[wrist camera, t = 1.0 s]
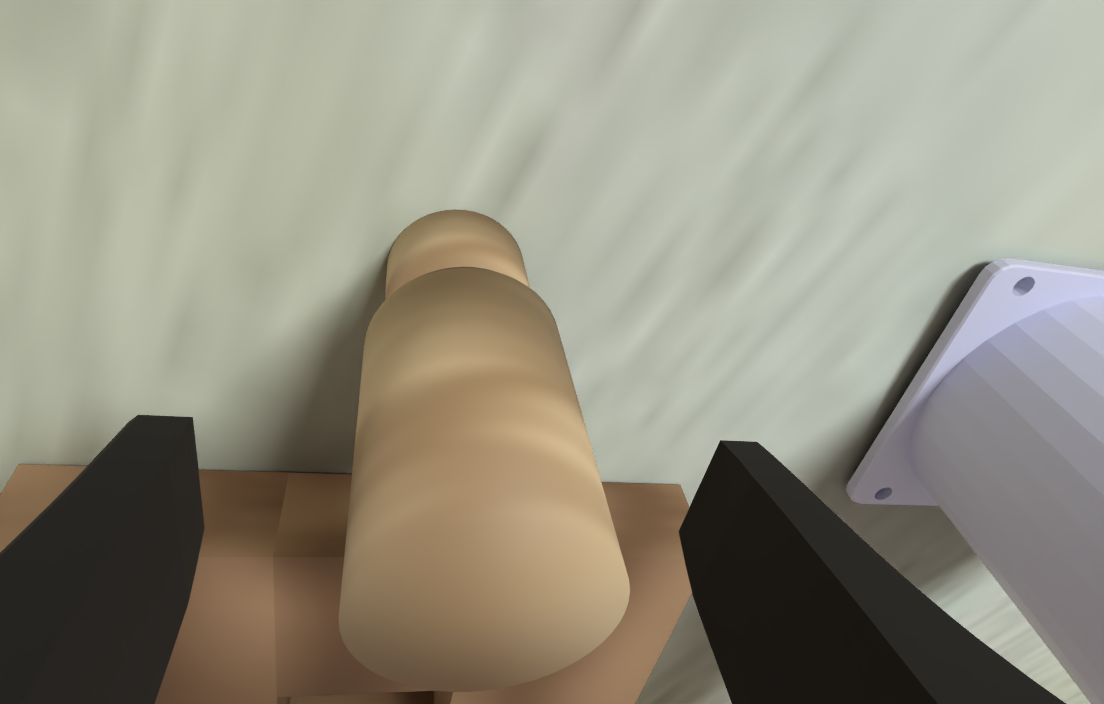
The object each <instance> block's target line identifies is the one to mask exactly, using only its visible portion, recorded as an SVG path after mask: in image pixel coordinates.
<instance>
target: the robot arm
mask: <svg viewBox="0 0 1104 704" xmlns="http://www.w3.org/2000/svg"><path fill="white" fill-rule="evenodd" d="M1019 280H1020V281H1019ZM1018 281H1019V282H1018ZM1017 282H1018V283H1017ZM1016 283H1017V284H1016ZM846 491H847V494H848V495H849V497H850V498H851V500H852V501H853V502H854V503H858V504H881V505H920V506H940V508H941V509H942V510H943V512H944V513H945V514H946V516H947V517H948V518H949V519H950V521H951V522H952V523H953V525H954V526H955V527H956V529H957V530H958V531H959V532H960V534H961V535H962V536H963V538H964V539H965V540H966V542H967V543H968V544H969V545H970V547H971V548H972V549H973V551H974V552H975V553H976V555H977V556H978V557H979V558H980V560H981V561H982V562H983V564H984V565H985V566H986V568H987V569H988V570H989V571H990V573H991V574H992V575H993V577H994V578H995V579H996V581H997V582H998V583H999V585H1000V586H1001V587H1002V588H1003V590H1004V591H1005V592H1006V594H1007V595H1008V596H1009V598H1010V599H1011V600H1012V601H1013V603H1014V604H1015V605H1016V607H1017V608H1018V609H1019V611H1020V612H1021V613H1022V614H1023V616H1024V617H1025V618H1026V620H1027V621H1028V622H1029V624H1030V625H1031V626H1032V627H1033V629H1034V630H1035V631H1036V633H1037V634H1038V635H1039V637H1040V638H1041V639H1042V640H1043V642H1044V643H1045V644H1046V646H1047V647H1048V648H1049V650H1050V651H1051V652H1052V654H1053V655H1054V656H1055V657H1056V659H1057V660H1058V661H1059V663H1060V664H1061V665H1062V667H1063V668H1064V669H1065V670H1066V672H1067V673H1068V674H1069V676H1070V677H1071V678H1072V680H1073V681H1074V682H1075V683H1076V685H1077V686H1078V687H1079V689H1080V690H1081V691H1082V693H1083V694H1084V695H1085V696H1086V698H1087V699H1088V700H1089V702H1090V703H1091V704H1104V271H1102V270H1095V269H1087V268H1080V267H1072V266H1064V265H1057V264H1049V263H1042V262H1034V261H1026V260H1019V259H1011V258H1003V259H999V260H996V261H994V262H991V263H990V264H989V265H987V266H986V267H985V268H984V269H983V270H982V271H981V272H980V274H979V275H978V277H977V278H976V280H975V281H974V283H973V285H972V286H971V288H970V289H969V291H968V293H967V294H966V296H965V297H964V299H963V301H962V302H961V304H960V305H959V307H958V309H957V310H956V312H955V313H954V315H953V317H952V318H951V320H950V321H949V323H948V324H947V326H946V328H945V329H944V331H943V332H942V334H941V336H940V337H939V339H938V340H937V342H936V344H935V345H934V347H933V348H932V350H931V352H930V353H929V355H928V356H927V358H926V360H925V361H924V363H923V364H922V366H921V368H920V369H919V371H918V372H917V374H916V376H915V377H914V379H913V380H912V382H911V383H910V385H909V387H908V388H907V390H906V391H905V393H904V395H903V396H902V398H901V399H900V401H899V403H898V404H897V406H896V407H895V409H894V411H893V412H892V414H891V415H890V417H889V419H888V420H887V422H886V423H885V425H884V427H883V428H882V430H881V431H880V433H879V434H878V436H877V438H876V439H875V441H874V442H873V444H872V446H871V447H870V449H869V450H868V452H867V454H866V455H865V457H864V458H863V460H862V462H861V463H860V465H859V466H858V468H857V470H856V471H855V473H854V474H853V476H852V478H851V479H850V481H849V482H848V484H847V487H846ZM204 528H205V526H204V517H203V507H202V498H201V489H200V480H199V471H198V461H197V452H196V443H195V434H194V425H193V417H174V416H151V415H138V416H136V417H135V418H133V419H132V420H131V421H129V422H128V423H127V424H126V425H125V427H124V428H123V429H122V430H121V431H120V432H119V433H118V434H117V435H116V436H115V437H114V438H113V439H112V440H111V442H110V443H109V444H108V445H107V446H106V447H105V448H104V449H103V450H102V451H101V452H100V453H99V454H98V455H97V456H96V458H95V459H94V460H93V461H92V462H91V463H90V464H89V465H88V466H87V467H86V468H85V469H84V470H83V471H82V472H81V473H80V474H79V475H78V476H77V477H76V478H75V479H74V480H73V481H72V482H71V483H70V484H69V485H68V487H67V488H66V489H65V490H64V491H63V492H62V493H61V494H60V495H59V496H58V497H57V498H56V499H55V500H54V501H53V502H52V503H51V504H50V505H49V506H48V507H47V508H46V509H45V510H44V511H43V512H42V513H40V514H39V515H38V516H37V517H36V518H35V519H34V520H33V521H32V522H31V523H30V524H29V525H28V526H27V527H26V528H25V529H24V530H23V531H22V532H21V533H20V534H19V535H18V536H17V537H16V538H15V539H14V540H13V541H12V542H11V543H10V544H9V545H7V546H6V547H5V548H4V549H3V550H2V551H1V552H0V704H155V701H156V698H157V695H158V692H159V689H160V686H161V683H162V680H163V677H164V675H165V672H166V669H167V666H168V663H169V660H170V657H171V654H172V651H173V648H174V645H175V642H176V639H177V636H178V633H179V630H180V627H181V624H182V621H183V618H184V615H185V612H186V609H187V606H188V603H189V599H190V594H191V590H192V585H193V581H194V576H195V572H196V567H197V562H198V557H199V553H200V548H201V543H202V538H203V533H204ZM679 536H680V541H681V546H682V551H683V555H684V560H685V565H686V569H687V573H688V578H689V582H690V586H691V590H692V594H693V597H694V600H695V603H696V606H697V609H698V612H699V615H700V617H701V620H702V623H703V626H704V628H705V631H706V634H707V637H708V639H709V642H710V645H711V648H712V650H713V653H714V656H715V659H716V661H717V664H718V667H719V669H720V672H721V675H722V677H723V680H724V683H725V685H726V688H727V691H728V694H729V696H730V699H731V702H732V704H1066V703H1064V702H1063V701H1061V700H1060V699H1059V698H1057V697H1056V696H1054V695H1053V694H1052V693H1050V692H1049V691H1047V690H1046V689H1044V688H1043V687H1042V686H1040V685H1039V684H1037V683H1036V682H1035V681H1033V680H1032V679H1031V678H1029V677H1028V676H1027V675H1025V674H1024V673H1023V672H1021V671H1020V670H1019V669H1017V668H1016V667H1015V666H1013V665H1012V664H1011V663H1009V662H1008V661H1007V660H1005V659H1004V658H1003V657H1001V656H1000V655H999V654H997V653H996V652H995V651H993V650H992V649H991V648H990V647H988V646H987V645H986V644H984V643H983V642H982V641H980V640H979V639H978V638H976V637H975V636H974V635H973V634H971V633H970V632H969V631H968V630H966V629H965V628H964V627H963V626H961V625H960V624H959V623H958V622H956V621H955V620H954V619H953V618H952V617H950V616H949V615H948V614H947V613H946V612H944V611H943V610H942V609H941V608H940V607H939V606H937V605H936V604H935V603H934V602H933V601H931V600H930V599H929V598H928V597H927V596H926V595H924V594H923V593H922V592H921V591H920V590H918V589H917V588H916V587H915V586H914V585H913V584H911V583H910V582H909V581H908V580H907V579H906V578H905V577H903V576H902V575H901V574H900V573H899V572H898V571H897V570H896V569H894V568H893V567H892V566H891V565H890V564H889V563H888V562H887V561H885V560H884V559H883V558H882V557H881V556H880V555H879V554H878V553H877V552H876V551H874V550H873V549H872V548H871V547H870V546H869V545H868V544H867V543H866V542H865V541H864V540H862V539H861V538H860V537H859V536H858V535H857V534H856V533H855V532H854V531H853V530H852V529H851V528H850V527H849V526H847V525H846V524H845V523H844V522H843V521H842V520H841V519H840V518H839V517H838V516H837V515H836V514H835V513H834V512H833V511H832V510H830V509H829V508H828V507H827V506H826V505H825V504H824V503H823V502H822V501H821V500H820V499H819V498H818V497H817V496H816V495H815V494H814V493H813V492H811V491H810V490H809V489H808V488H807V487H806V486H805V485H804V484H803V483H802V482H801V481H800V480H799V479H798V478H797V477H796V476H795V475H793V474H792V473H791V472H790V471H789V470H788V469H787V468H786V467H785V466H784V465H783V464H782V463H781V462H779V461H778V460H777V459H776V458H775V457H774V456H773V455H772V454H771V453H769V452H768V451H767V450H766V449H765V448H764V447H762V446H761V445H760V444H759V443H758V442H745V441H722V440H720V442H719V445H718V447H717V449H716V451H715V453H714V455H713V458H712V460H711V462H710V464H709V466H708V469H707V471H706V473H705V475H704V477H703V479H702V482H701V484H700V486H699V488H698V490H697V492H696V495H695V497H694V499H693V501H692V503H691V505H690V508H689V510H688V512H687V514H686V516H685V518H684V521H683V523H682V525H681V527H680V529H679Z"/></svg>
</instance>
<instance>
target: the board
mask: <svg viewBox="0 0 1104 704" xmlns="http://www.w3.org/2000/svg"><path fill="white" fill-rule="evenodd" d="M86 467H87V466H61V465H28V464H19V465H18V467H17V468H16V470H15V472H14V473H13V475H12V476H11V478H10V480H9V481H8V483H7V485H6V486H5V488H4V489H3V491H2V493H1V494H0V552H1V551H2V550H3V549H4V548H5V547H6V546H7V545H9V544H10V543H11V542H12V541H13V540H14V539H15V538H16V537H17V536H18V535H19V534H20V533H21V532H22V531H23V530H24V529H25V528H26V527H27V526H28V525H29V524H30V523H31V522H32V521H33V520H34V519H35V518H36V517H37V516H38V515H39V514H40V513H42V512H43V511H44V510H45V509H46V508H47V507H48V506H49V505H50V504H51V503H52V502H53V501H54V500H55V499H56V498H57V497H58V496H59V495H60V494H61V493H62V492H63V491H64V490H65V489H66V488H67V487H68V485H69V484H70V483H71V482H72V481H73V480H74V479H75V478H76V477H77V476H78V475H79V474H80V473H81V472H82V471H83V470H84V469H85V468H86ZM198 471H199V480H200V489H201V498H202V507H203V517H204V526H205V528H204V533H203V538H202V543H201V548H200V553H199V557H198V562H197V567H196V572H195V576H194V581H193V585H192V590H191V594H190V599H189V603H188V606H187V609H186V612H185V615H184V618H183V621H182V624H181V627H180V630H179V633H178V636H177V639H176V642H175V645H174V648H173V651H172V654H171V657H170V660H169V663H168V666H167V669H166V672H165V675H164V677H163V680H162V683H161V686H160V689H159V692H158V695H157V698H156V701H155V704H635V703H636V701H637V699H638V697H639V695H640V693H641V691H642V689H643V688H644V686H645V684H646V682H647V680H648V678H649V676H650V674H651V672H652V670H653V668H654V666H655V664H656V662H657V660H658V658H659V656H660V654H661V653H662V651H663V649H664V647H665V645H666V643H667V641H668V639H669V637H670V635H671V633H672V631H673V629H674V627H675V625H676V623H677V621H678V619H679V618H680V616H681V614H682V612H683V610H684V608H685V606H686V604H687V602H688V600H689V598H690V596H691V594H692V590H691V586H690V582H689V578H688V573H687V569H686V565H685V560H684V555H683V551H682V546H681V541H680V536H679V529H680V527H681V525H682V523H683V521H684V518H685V516H686V514H687V512H688V510H689V505H688V503H687V500H686V498H685V495H684V493H683V490H682V488H681V485H678V484H646V483H613V482H601V483H602V486H603V490H604V493H605V497H606V500H607V504H608V507H609V511H610V514H611V518H612V521H613V525H614V528H615V532H616V535H617V539H618V542H619V546H620V550H621V553H622V557H623V560H624V564H625V567H626V571H627V574H628V578H629V584H630V595H629V602H628V605H627V608H626V611H625V613H624V615H623V617H622V619H621V621H620V623H619V624H618V625H617V627H616V628H615V629H614V631H613V632H612V633H611V634H610V635H609V636H608V637H607V639H606V640H605V641H604V642H603V643H601V644H600V645H599V646H598V647H597V648H595V649H594V650H593V651H592V652H590V653H589V654H587V655H586V656H584V657H583V658H581V659H580V660H578V661H576V662H575V663H573V664H571V665H569V666H567V667H566V668H563V669H561V670H559V671H557V672H555V673H552V674H550V675H547V676H544V677H542V678H539V679H536V680H533V681H529V682H526V683H523V684H519V685H514V686H510V687H505V688H499V689H492V690H485V691H472V692H446V691H433V690H426V689H419V688H415V687H411V686H406V685H403V684H400V683H397V682H394V681H391V680H388V679H386V678H384V677H382V676H380V675H377V674H376V673H374V672H372V671H371V670H369V669H368V668H366V667H365V666H364V665H362V664H361V663H360V662H359V661H358V660H356V659H355V657H354V656H353V655H352V654H351V653H350V652H349V650H348V649H347V647H346V645H345V644H344V642H343V640H342V637H341V633H340V630H339V607H340V596H341V586H342V575H343V564H344V554H345V543H346V533H347V522H348V511H349V501H350V490H351V479H352V474H321V473H288V472H256V471H223V470H198ZM411 691H415V692H411ZM387 692H392V693H387ZM364 693H368V694H364ZM340 694H344V695H340ZM317 695H321V696H317ZM293 696H297V697H293Z"/></svg>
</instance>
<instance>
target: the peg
mask: <svg viewBox="0 0 1104 704" xmlns="http://www.w3.org/2000/svg"><path fill="white" fill-rule="evenodd" d="M629 595H630V584H629V578H628V574H627V571H626V567H625V564H624V560H623V557H622V553H621V550H620V546H619V542H618V539H617V535H616V532H615V528H614V525H613V521H612V518H611V514H610V511H609V507H608V504H607V500H606V497H605V493H604V490H603V486H602V483H601V479H600V476H599V472H598V469H597V465H596V462H595V458H594V455H593V451H592V447H591V444H590V440H589V437H588V433H587V430H586V426H585V423H584V419H583V416H582V412H581V409H580V405H579V402H578V398H577V395H576V391H575V388H574V384H573V381H572V377H571V374H570V370H569V367H568V363H567V360H566V356H565V352H564V349H563V345H562V342H561V338H560V335H559V331H558V328H557V325H556V322H555V319H554V317H553V315H552V313H551V311H550V309H549V308H548V306H547V305H546V303H545V302H544V301H543V300H542V299H541V298H540V297H539V296H538V295H537V293H535V292H534V291H533V290H532V289H530V286H529V282H528V278H527V274H526V270H525V266H524V262H523V258H522V254H521V251H520V248H519V246H518V244H517V242H516V241H515V239H514V238H513V236H512V235H511V234H510V233H509V232H508V231H507V229H506V228H504V227H503V226H502V225H501V224H499V223H498V222H496V221H495V220H493V219H492V218H489V217H487V216H485V215H483V214H479V213H476V212H472V211H466V210H445V211H440V212H436V213H432V214H429V215H427V216H424V217H422V218H420V219H418V220H417V221H415V222H413V223H412V224H411V225H409V226H408V227H407V228H406V229H405V230H404V231H403V232H402V233H401V234H400V235H399V237H398V238H397V239H396V241H395V242H394V244H393V246H392V248H391V251H390V254H389V257H388V263H387V275H386V292H385V301H384V302H383V303H382V304H381V305H380V307H379V308H378V310H377V311H376V312H375V314H374V316H373V318H372V319H371V321H370V323H369V326H368V329H367V332H366V336H365V343H364V352H363V363H362V373H361V384H360V395H359V405H358V416H357V426H356V437H355V448H354V458H353V469H352V479H351V490H350V501H349V511H348V522H347V533H346V543H345V554H344V564H343V575H342V586H341V596H340V607H339V630H340V633H341V637H342V640H343V642H344V644H345V645H346V647H347V649H348V650H349V652H350V653H351V654H352V655H353V656H354V657H355V659H356V660H358V661H359V662H360V663H361V664H362V665H364V666H365V667H366V668H368V669H369V670H371V671H372V672H374V673H376V674H377V675H380V676H382V677H384V678H386V679H388V680H391V681H394V682H397V683H400V684H403V685H406V686H411V687H415V688H419V689H426V690H433V691H446V692H472V691H485V690H492V689H499V688H505V687H510V686H514V685H519V684H523V683H526V682H529V681H533V680H536V679H539V678H542V677H544V676H547V675H550V674H552V673H555V672H557V671H559V670H561V669H563V668H566V667H567V666H569V665H571V664H573V663H575V662H576V661H578V660H580V659H581V658H583V657H584V656H586V655H587V654H589V653H590V652H592V651H593V650H594V649H595V648H597V647H598V646H599V645H600V644H601V643H603V642H604V641H605V640H606V639H607V637H608V636H609V635H610V634H611V633H612V632H613V631H614V629H615V628H616V627H617V625H618V624H619V623H620V621H621V619H622V617H623V615H624V613H625V611H626V608H627V605H628V602H629Z"/></svg>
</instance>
